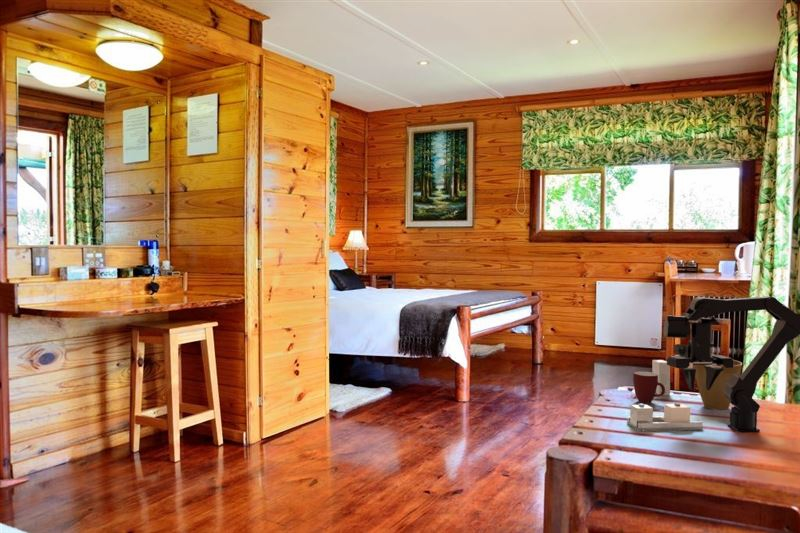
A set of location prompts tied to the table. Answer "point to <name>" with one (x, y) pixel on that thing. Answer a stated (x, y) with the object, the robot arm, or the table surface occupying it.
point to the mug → (646, 386)
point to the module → (676, 413)
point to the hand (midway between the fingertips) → (699, 390)
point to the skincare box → (662, 375)
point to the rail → (656, 421)
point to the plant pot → (716, 386)
